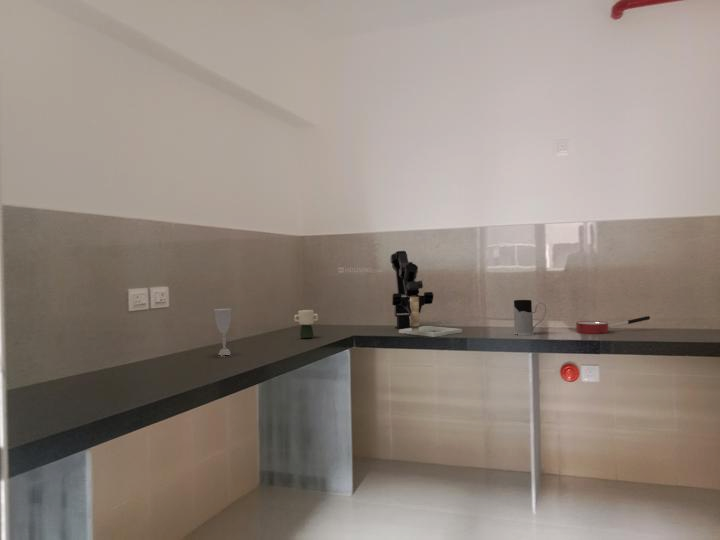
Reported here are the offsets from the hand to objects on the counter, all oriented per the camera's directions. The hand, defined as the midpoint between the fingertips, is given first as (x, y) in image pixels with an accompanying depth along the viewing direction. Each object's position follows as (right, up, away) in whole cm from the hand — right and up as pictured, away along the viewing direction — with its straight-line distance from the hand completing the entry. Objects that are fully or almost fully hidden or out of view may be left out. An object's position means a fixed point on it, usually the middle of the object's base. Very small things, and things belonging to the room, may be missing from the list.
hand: (415, 312), depth 239 cm
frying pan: (+87, -8, -3) cm, 88 cm away
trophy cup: (-50, -13, +9) cm, 52 cm away
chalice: (-78, -14, -31) cm, 85 cm away
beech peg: (0, -8, +1) cm, 8 cm away
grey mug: (+51, -9, -3) cm, 52 cm away
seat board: (+9, -11, +14) cm, 19 cm away
